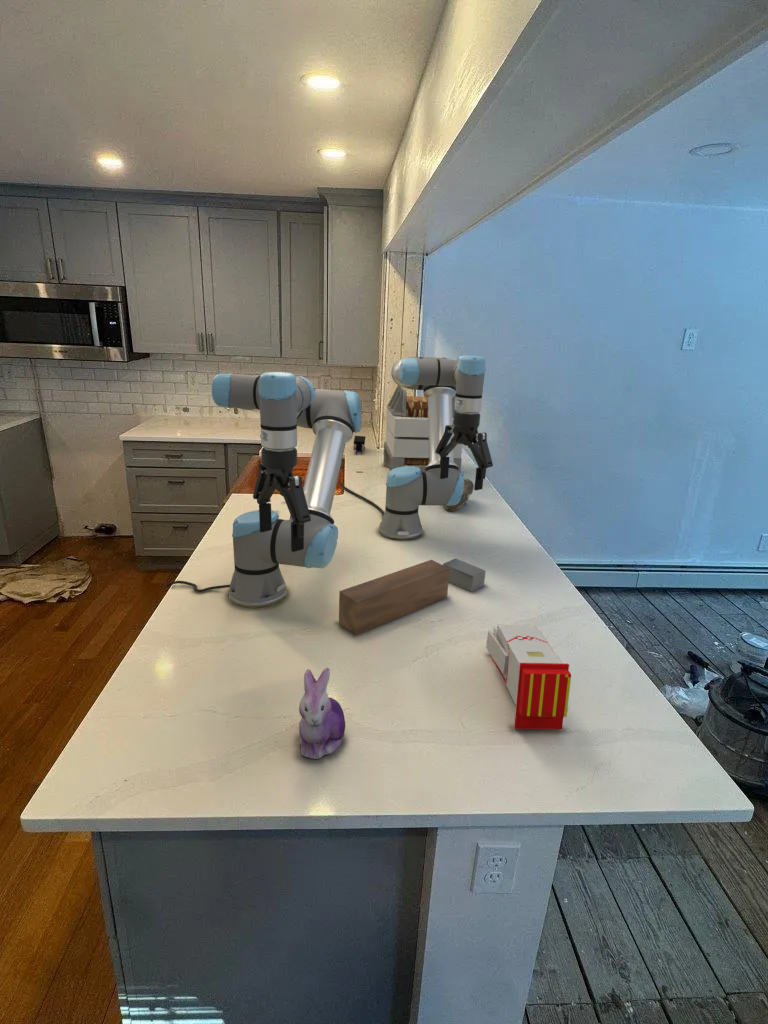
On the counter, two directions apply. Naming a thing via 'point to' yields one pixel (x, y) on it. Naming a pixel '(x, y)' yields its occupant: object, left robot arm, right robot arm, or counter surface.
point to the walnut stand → (392, 596)
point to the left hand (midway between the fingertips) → (281, 540)
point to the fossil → (465, 495)
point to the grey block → (465, 575)
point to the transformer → (410, 432)
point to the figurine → (319, 718)
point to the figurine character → (359, 443)
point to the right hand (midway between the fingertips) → (460, 483)
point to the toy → (531, 675)
